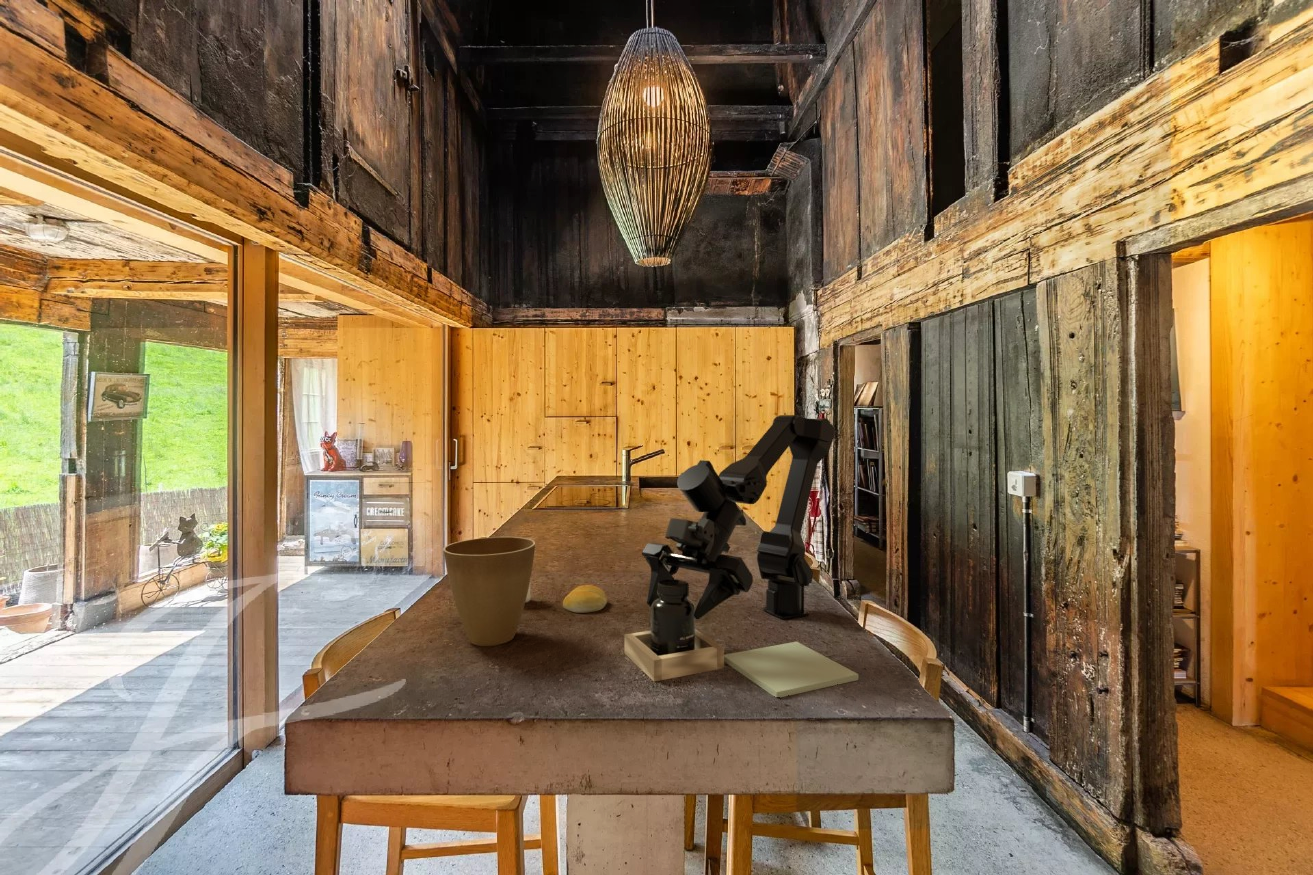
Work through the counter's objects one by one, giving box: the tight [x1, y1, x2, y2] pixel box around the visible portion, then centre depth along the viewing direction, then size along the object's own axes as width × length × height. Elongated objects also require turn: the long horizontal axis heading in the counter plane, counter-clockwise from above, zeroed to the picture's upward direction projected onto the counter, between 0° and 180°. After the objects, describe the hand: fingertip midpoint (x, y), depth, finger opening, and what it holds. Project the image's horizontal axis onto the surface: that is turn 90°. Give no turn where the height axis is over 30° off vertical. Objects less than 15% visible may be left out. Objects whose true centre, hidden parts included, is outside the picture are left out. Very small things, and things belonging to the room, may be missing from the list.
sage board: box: [724, 641, 859, 698], centre depth 88 cm, size 14×14×1 cm
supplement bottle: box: [650, 578, 696, 656], centre depth 91 cm, size 7×7×12 cm
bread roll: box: [562, 584, 608, 614], centre depth 119 cm, size 8×9×4 cm
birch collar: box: [624, 628, 725, 682], centre depth 91 cm, size 11×11×3 cm
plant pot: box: [442, 536, 536, 647], centre depth 100 cm, size 15×15×16 cm
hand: (671, 611), depth 91 cm, fingers open, 9 cm apart
